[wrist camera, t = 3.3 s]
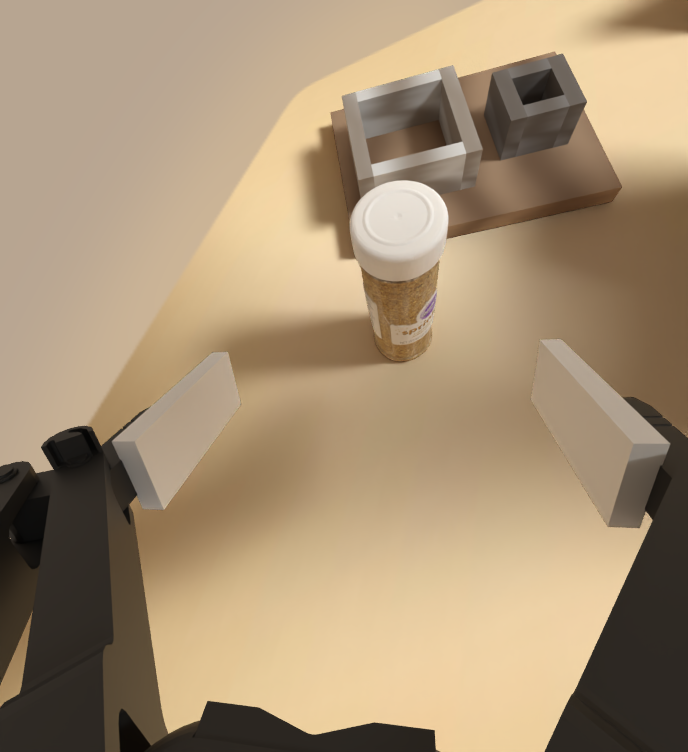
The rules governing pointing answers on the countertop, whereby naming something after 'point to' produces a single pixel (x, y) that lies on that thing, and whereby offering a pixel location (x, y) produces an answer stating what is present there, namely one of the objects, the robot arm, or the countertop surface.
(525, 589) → the countertop surface
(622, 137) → the countertop surface
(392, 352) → the sprinkles bottle
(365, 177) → the socket board
